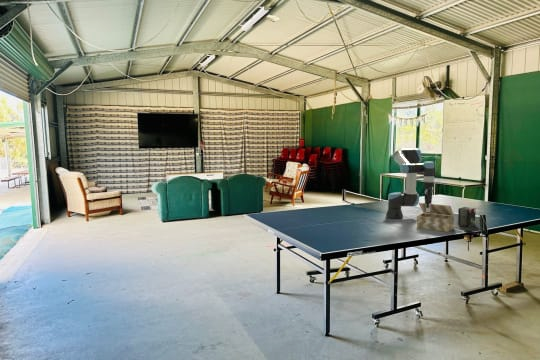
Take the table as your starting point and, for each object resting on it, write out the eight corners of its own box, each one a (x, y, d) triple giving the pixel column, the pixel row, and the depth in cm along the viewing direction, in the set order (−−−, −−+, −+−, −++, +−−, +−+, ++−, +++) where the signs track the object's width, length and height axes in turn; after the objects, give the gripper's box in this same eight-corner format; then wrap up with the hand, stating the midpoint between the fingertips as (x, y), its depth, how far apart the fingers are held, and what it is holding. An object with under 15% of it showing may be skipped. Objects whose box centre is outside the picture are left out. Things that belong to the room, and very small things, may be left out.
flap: (418, 203, 290) (419, 202, 290) (423, 212, 298) (423, 211, 299) (450, 206, 273) (450, 205, 274) (454, 216, 282) (454, 214, 282)
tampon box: (469, 227, 285) (469, 209, 283) (457, 225, 292) (458, 208, 291) (475, 225, 291) (476, 208, 290) (464, 223, 299) (464, 206, 297)
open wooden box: (416, 227, 289) (416, 215, 288) (423, 224, 299) (423, 212, 298) (448, 231, 273) (448, 219, 272) (453, 228, 283) (454, 216, 282)
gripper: (430, 182, 263) (430, 213, 266) (436, 181, 273) (436, 211, 275) (420, 182, 269) (419, 212, 271) (426, 180, 278) (426, 210, 280)
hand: (428, 211), depth 273 cm, fingers closed
